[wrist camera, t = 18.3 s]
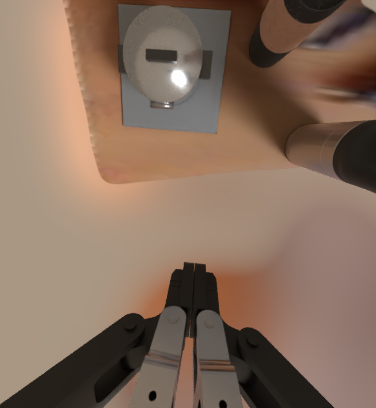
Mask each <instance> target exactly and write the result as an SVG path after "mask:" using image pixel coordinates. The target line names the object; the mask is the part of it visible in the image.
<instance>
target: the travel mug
mask: <svg viewBox="0 0 376 408" xmlns="http://www.w3.org/2000/svg"><path fill="white" fill-rule="evenodd" d="M345 1H346V0H269V2H268V4H267V6H266V8H265V10H264V12H263V14H262V16H261V18H260V21H259V23H258V25H257V27H256V29H255V31H254V34H253V36H252V38H251V41H250V45H249V54H250V58H251V60H252V61H253V63H254V64H255V65H257V66H259V67H262V68H266V67H270V66H272V65H274V64H275V63H277V62H278V61H279V60H281V59H282V58H283V57H284V56H286V55H287V54H288V53H289V52H291V51H292V50H293V49H294V48H295V47H297V46H298V45H299V44H300V43H301V42H302V41H303V40H304V39H305V38H306V37H307V36H309V35H310V34H311V33H312V32H313V31H314V30H315V29H316V28H317V27H318V26H319V25H320V24H322V23H323V22H324V21H325V20H326V19H327V18H328V17H329V16H330V15H331V14H332V13H333V12H334V11H336V10H337V9H338V8H339V7H340V6H341V5H342V4H343V3H344V2H345Z"/></svg>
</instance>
